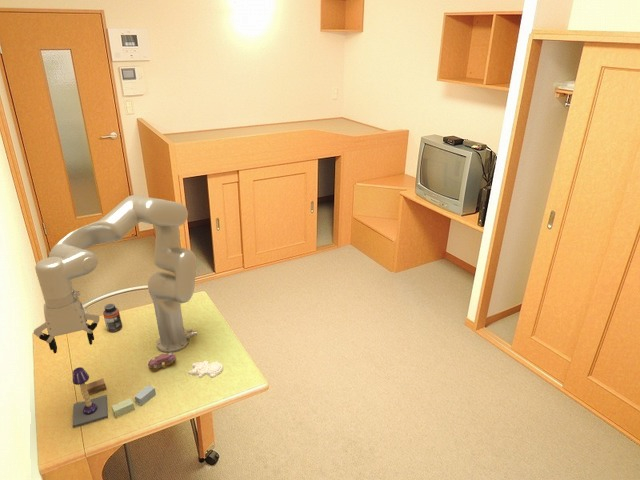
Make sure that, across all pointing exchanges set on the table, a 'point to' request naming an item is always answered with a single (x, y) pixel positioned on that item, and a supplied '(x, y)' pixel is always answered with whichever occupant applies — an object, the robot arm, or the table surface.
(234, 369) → the table surface
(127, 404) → the brick
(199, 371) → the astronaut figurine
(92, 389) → the brick
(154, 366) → the video game controller
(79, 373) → the toy lamp
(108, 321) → the supplement bottle
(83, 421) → the pad
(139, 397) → the brick
